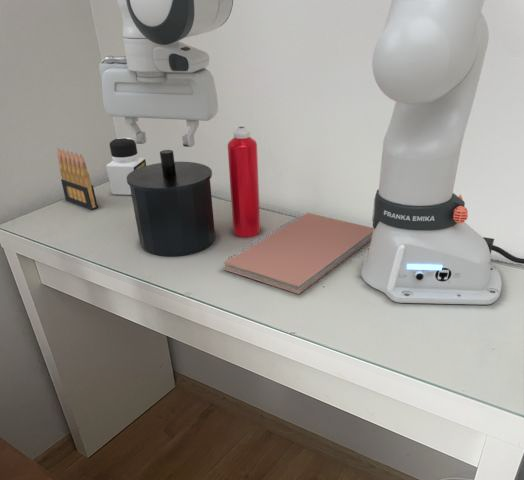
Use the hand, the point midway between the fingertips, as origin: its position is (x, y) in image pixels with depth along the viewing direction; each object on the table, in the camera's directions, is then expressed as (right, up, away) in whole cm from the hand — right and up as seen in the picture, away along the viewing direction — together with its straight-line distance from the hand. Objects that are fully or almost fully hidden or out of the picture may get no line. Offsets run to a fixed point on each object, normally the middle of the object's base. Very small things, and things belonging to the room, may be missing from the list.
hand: (164, 144), depth 94 cm
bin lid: (0, -5, +3) cm, 6 cm away
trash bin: (+1, -15, +11) cm, 18 cm away
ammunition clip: (-25, -3, +29) cm, 39 cm away
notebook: (+25, -19, +4) cm, 31 cm away
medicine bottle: (-15, +3, +36) cm, 39 cm away
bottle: (+14, -13, +13) cm, 23 cm away
